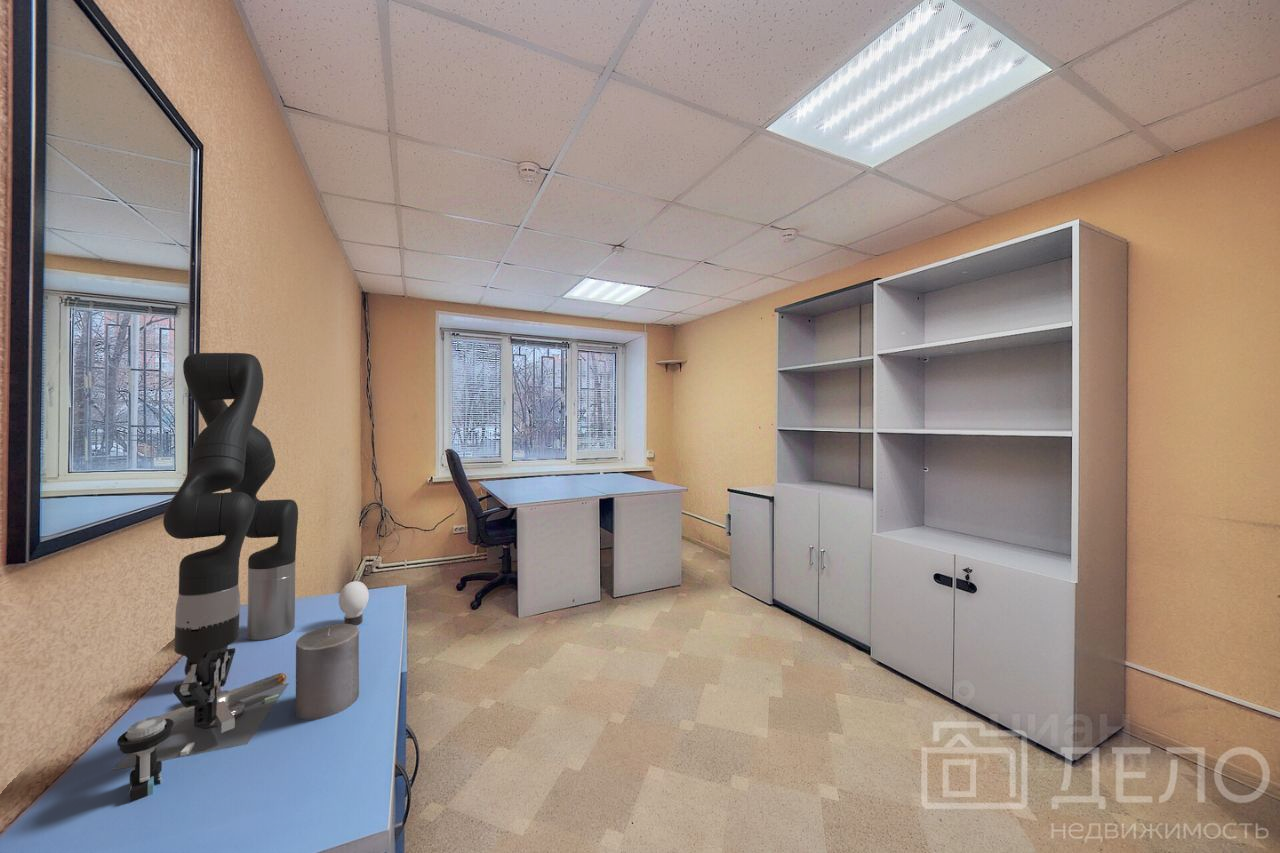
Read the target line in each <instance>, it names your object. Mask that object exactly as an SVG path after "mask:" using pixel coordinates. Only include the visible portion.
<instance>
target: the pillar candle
mask: <svg viewBox="0 0 1280 853" xmlns="http://www.w3.org/2000/svg"><path fill="white" fill-rule="evenodd" d="M359 631H360V630H359V627H358V626H357V625H351V624H344V623H337V624H332V625H331V624H329V625H326V626H322V627H318V628H316V629H315V628H314V629H312V630H310V631H308V632H306V633H304V634H303V635H301V636H300V637H299V638H298V639H297V640H296V643H295V715H296V717H297V718H299V719H301V720H304V721H305V720H306V721H307V720H308V721H309V720H310V721H311V720H313V721H314V720H315V721H316V720H320V719H325V718H328V717H331V716H334V715H336V714H339V713H341V712H343V711H346V710H347V709H348V708H349V707H351V706H352V705H353V704H354V703H356V702H357V700H358V698H359V694H360V666H359V665H360V661H359V660H360V649H359V648H360V647H359V646H360V645H359V642H360V635H359V634H360V632H359Z"/></svg>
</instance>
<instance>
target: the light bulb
mask: <svg viewBox="0 0 1280 853" xmlns="http://www.w3.org/2000/svg"><path fill="white" fill-rule="evenodd" d="M369 593H370V592H369V589H368V587H367V586H366V584H365V583H363V582H361V581H360V580H359V581H357V580H355V581H354V580H353V581H351V582H349V583H347V584H346V585H345V586H344V587H343V588H342V589H341V591H340V593H339V597H338V607H339V609H340V610H341V612H342V613H343V614H344V617H343V624H351V625H355V626H357V625H361V624H362V623H363V615H364V614H363V613H364V612H363V611H364V610H365V608H366V607H367V605H368V602H369V598H370V594H369Z"/></svg>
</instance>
